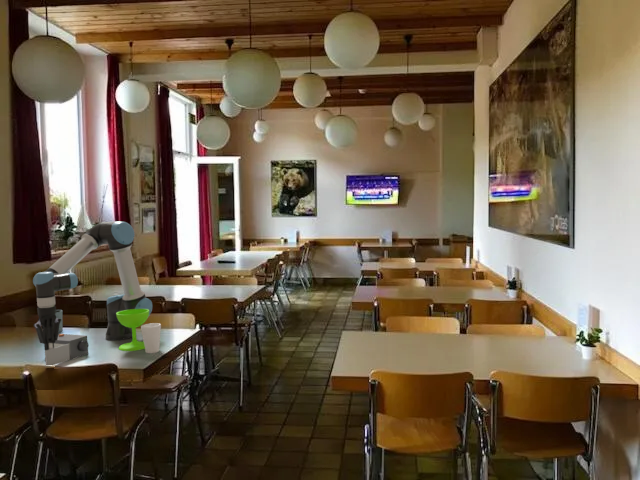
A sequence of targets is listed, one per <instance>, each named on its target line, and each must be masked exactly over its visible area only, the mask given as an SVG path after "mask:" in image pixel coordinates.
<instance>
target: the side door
mask: <svg viewBox="0 0 640 480" xmlns="http://www.w3.org/2000/svg"><path fill="white" fill-rule="evenodd" d="M44 357H45V358H44V359H45V360H44V361H45V366H46V365H52V366H55V365H58V364H61V363H64V362H67V361H71V360H70V359H71V351H70V343H68V344H65V345H62V346H59V347H55V348H52V349H49V350H46V351H45V350H44Z"/></svg>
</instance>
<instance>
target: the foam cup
mask: <svg viewBox="0 0 640 480" xmlns="http://www.w3.org/2000/svg"><path fill="white" fill-rule="evenodd" d="M161 330H162V324H161V323H160V322H159V323H158V322H152V323H151V322H150V323H143V324H142V325H141V326H140V332H141V335H142V336H141V337H142V339H143V340H142V341H144V346H145V349H144V350H145V353H146V354H156V353H159V351H160V344H161Z"/></svg>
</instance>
